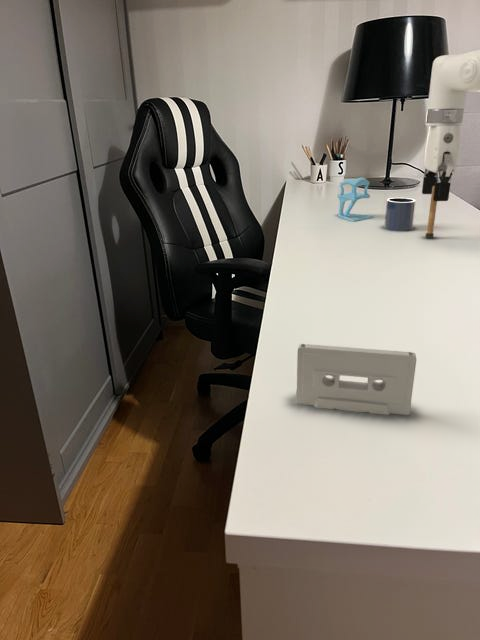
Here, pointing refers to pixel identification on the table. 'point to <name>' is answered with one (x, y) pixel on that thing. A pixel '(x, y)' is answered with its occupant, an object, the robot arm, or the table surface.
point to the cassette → (359, 363)
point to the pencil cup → (399, 214)
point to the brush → (431, 217)
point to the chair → (352, 197)
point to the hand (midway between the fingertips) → (434, 197)
